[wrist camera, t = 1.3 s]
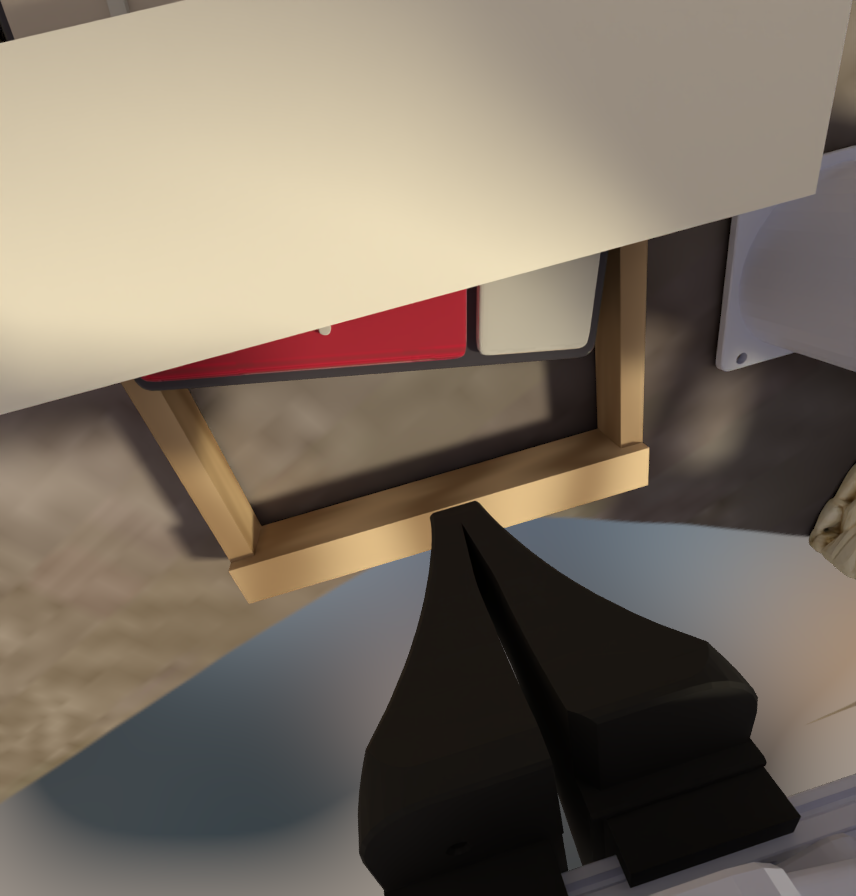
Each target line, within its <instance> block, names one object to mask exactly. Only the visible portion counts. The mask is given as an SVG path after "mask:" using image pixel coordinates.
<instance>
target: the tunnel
mask: <svg viewBox="0 0 856 896" xmlns="http://www.w3.org/2000/svg"><path fill="white" fill-rule="evenodd" d="M851 5H852V0H183V1H179V2H175V3H170V4H166V5H162V6H157V7H153V8H149V9H145V10H140V11H136V12H132V13H127V14H123V15H119V16H115V17H110V18H106V19H102V20H97V21H93V22H89V23H85V24H80V25H76V26H72V27H68V28H63V29H59V30H55V31H50V32H46V33H42V34H38V35H33V36H29V37H25V38H20V39H16V40H12V41H8V42H3V43H0V415H2V414H6V413H9V412H13V411H17V410H20V409H24V408H28V407H31V406H35V405H39V404H42V403H46V402H50V401H54V400H57V399H61V398H65V397H68V396H72V395H76V394H79V393H83V392H87V391H90V390H94V389H98V388H102V387H105V386H109V385H113V384H116V383H120V382H124V381H127V380H131V379H135V378H138V377H142V376H146V375H149V374H153V373H157V372H161V371H164V370H168V369H172V368H175V367H179V366H183V365H186V364H190V363H194V362H197V361H201V360H205V359H209V358H212V357H216V356H220V355H223V354H227V353H231V352H234V351H238V350H242V349H245V348H249V347H253V346H256V345H260V344H264V343H268V342H271V341H275V340H279V339H282V338H286V337H290V336H293V335H297V334H301V333H304V332H308V331H312V330H316V329H319V328H323V327H327V326H330V325H334V324H338V323H341V322H345V321H349V320H352V319H356V318H360V317H363V316H367V315H371V314H375V313H378V312H382V311H386V310H389V309H393V308H397V307H400V306H404V305H408V304H411V303H415V302H419V301H423V300H426V299H430V298H434V297H437V296H441V295H445V294H448V293H452V292H456V291H459V290H463V289H467V288H470V287H474V286H478V285H482V284H485V283H489V282H493V281H496V280H500V279H504V278H507V277H511V276H515V275H518V274H522V273H526V272H530V271H533V270H537V269H541V268H544V267H548V266H552V265H555V264H559V263H563V262H566V261H570V260H574V259H577V258H581V257H585V256H589V255H592V254H596V253H600V252H603V251H607V250H611V249H614V248H618V247H622V246H625V245H629V244H633V243H637V242H640V241H644V240H648V239H651V238H655V237H659V236H662V235H666V234H670V233H673V232H677V231H681V230H684V229H688V228H692V227H696V226H699V225H703V224H707V223H710V222H714V221H718V220H721V219H725V218H729V217H732V216H736V215H740V214H744V213H747V212H751V211H755V210H758V209H762V208H766V207H769V206H773V205H777V204H780V203H784V202H788V201H791V200H795V199H799V198H803V197H806V196H810V195H814V194H815V193H816V188H817V183H818V177H819V172H820V167H821V162H822V157H823V151H824V146H825V141H826V136H827V131H828V125H829V120H830V115H831V110H832V104H833V99H834V94H835V89H836V84H837V78H838V73H839V68H840V63H841V58H842V52H843V47H844V42H845V37H846V31H847V26H848V21H849V16H850V11H851Z"/></svg>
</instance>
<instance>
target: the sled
mask: <svg viewBox="0 0 856 896" xmlns="http://www.w3.org/2000/svg"><path fill="white" fill-rule="evenodd" d="M0 43H2V41H1V39H0ZM647 250H648V240H644V241H640V242H637V243H633V244H629V245H625V246H622V247H618V248H614V249H611V250H609V251H608V258H607V265H606V272H605V279H604V286H603V293H602V300H601V307H600V314H599V321H598V328H597V335H596V341H595V357H596V389H597V420H598V429H595V430H591V431H588V432H585V433H581V434H578V435H574V436H571V437H567V438H564V439H560V440H557V441H553V442H550V443H547V444H543V445H540V446H536V447H533V448H529V449H526V450H522V451H519V452H516V453H512V454H509V455H505V456H502V457H498V458H495V459H491V460H488V461H485V462H481V463H478V464H474V465H471V466H467V467H464V468H460V469H457V470H453V471H450V472H447V473H443V474H440V475H436V476H433V477H429V478H426V479H422V480H419V481H416V482H412V483H409V484H405V485H402V486H398V487H395V488H391V489H388V490H385V491H381V492H378V493H374V494H371V495H367V496H364V497H360V498H357V499H353V500H350V501H347V502H343V503H340V504H336V505H333V506H329V507H326V508H322V509H319V510H316V511H312V512H309V513H305V514H302V515H298V516H295V517H291V518H288V519H284V520H281V521H278V522H274V523H271V524H267V525H264V526H261V525H260V523H259V521H258V519H257V517H256V515H255V513H254V511H253V510H252V508H251V506H250V504H249V502H248V500H247V498H246V497H245V495H244V493H243V491H242V489H241V487H240V485H239V483H238V482H237V480H236V478H235V476H234V474H233V472H232V470H231V468H230V467H229V465H228V463H227V461H226V459H225V457H224V455H223V454H222V452H221V450H220V448H219V446H218V444H217V442H216V440H215V439H214V437H213V435H212V433H211V431H210V429H209V427H208V426H207V424H206V422H205V420H204V418H203V416H202V414H201V412H200V411H199V409H198V407H197V405H196V403H195V401H194V399H193V398H192V396H191V394H190V392H189V390H188V388H187V389H175V390H162V391H149V390H145V389H143V388H141V387H140V386H139V385H138V384H137V383H136V382H135V380H134V379H131V380H127V381H124V382H121V384H122V386H123V387H124V389H125V391H126V392H127V394H128V395H129V397H130V399H131V400H132V402H133V404H134V405H135V407H136V409H137V410H138V412H139V413H140V415H141V417H142V418H143V420H144V422H145V423H146V425H147V426H148V428H149V430H150V431H151V433H152V435H153V436H154V438H155V439H156V441H157V443H158V444H159V446H160V448H161V449H162V451H163V453H164V454H165V456H166V457H167V459H168V461H169V462H170V464H171V466H172V467H173V469H174V470H175V472H176V474H177V475H178V477H179V479H180V480H181V482H182V483H183V485H184V487H185V488H186V490H187V492H188V493H189V495H190V497H191V498H192V500H193V501H194V503H195V505H196V506H197V508H198V510H199V511H200V513H201V514H202V516H203V518H204V519H205V521H206V523H207V524H208V526H209V528H210V529H211V531H212V532H213V534H214V536H215V537H216V539H217V541H218V542H219V544H220V545H221V547H222V549H223V550H224V552H225V554H226V555H227V557H228V558H229V560H230V562H231V565H230V568H229V573H230V574H231V576H232V577H233V579H234V581H235V582H236V584H237V585H238V587H239V589H240V590H241V592H242V593H243V595H244V597H245V598H246V600H247V601H248V603H249V604H250V603H253V602H257V601H260V600H263V599H267V598H270V597H274V596H277V595H280V594H284V593H287V592H290V591H294V590H297V589H300V588H304V587H307V586H311V585H314V584H317V583H321V582H324V581H327V580H331V579H334V578H337V577H341V576H344V575H347V574H351V573H354V572H358V571H361V570H364V569H368V568H371V567H374V566H378V565H381V564H384V563H388V562H391V561H394V560H398V559H401V558H405V557H408V556H411V555H415V554H418V553H421V552H425V551H428V550H431V542H432V532H431V522H430V516H431V515H432V513H434V512H438V511H441V510H445V509H448V508H451V507H455V506H458V505H462V504H465V503H468V502H472V501H477V502H479V503H480V504H481V505H482V506H483V507H484V509H485V510H486V511H487V512H488V513H489V514H490V515H491V516H492V517H493V518H494V519H495V520H496V521H497V522H498V523H499V524H500V525H501V526H502V527H503V528H505V527H509V526H512V525H515V524H519V523H522V522H525V521H529V520H532V519H536V518H539V517H542V516H546V515H549V514H552V513H556V512H559V511H562V510H566V509H569V508H573V507H576V506H579V505H583V504H586V503H589V502H593V501H596V500H599V499H603V498H606V497H610V496H613V495H616V494H620V493H623V492H626V491H630V490H633V489H636V488H640V487H643V486H646V485H648V470H649V447H648V446H646V445H645V444H644V443H643V442H642V439H643V401H644V364H645V326H646V288H647Z"/></svg>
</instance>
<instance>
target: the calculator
mask: <svg viewBox="0 0 856 896" xmlns="http://www.w3.org/2000/svg"><path fill="white" fill-rule="evenodd" d="M179 1H183V0H0V24H1V27H2V30H3V32H4V35H5V38H6V40H7V42H8V41H12V40H16V39H20V38H25V37H29V36H33V35H38V34H42V33H46V32H50V31H55V30H59V29H63V28H68V27H72V26H76V25H80V24H85V23H89V22H93V21H97V20H102V19H106V18H110V17H115V16H119V15H123V14H127V13H132V12H136V11H140V10H145V9H149V8H153V7H157V6H162V5H166V4H170V3H175V2H179ZM608 251H609V250H607V251H603V252H600V253H596V254H592V255H589V256H585V257H581V258H577V259H574V260H570V261H566V262H563V263H559V264H555V265H552V266H548V267H544V268H541V269H537V270H533V271H530V272H526V273H522V274H518V275H515V276H511V277H507V278H504V279H500V280H496V281H493V282H489V283H485V284H482V285H478V286H474V287H470V288H467V289H463V290H459V291H456V292H452V293H448V294H445V295H441V296H437V297H434V298H430V299H426V300H423V301H419V302H415V303H411V304H408V305H404V306H400V307H397V308H393V309H389V310H386V311H382V312H378V313H375V314H371V315H367V316H363V317H360V318H356V319H352V320H349V321H345V322H341V323H338V324H334V325H330V326H327V327H323V328H319V329H316V330H312V331H308V332H304V333H301V334H297V335H293V336H290V337H286V338H282V339H279V340H275V341H271V342H268V343H264V344H260V345H256V346H253V347H249V348H245V349H242V350H238V351H234V352H231V353H227V354H223V355H220V356H216V357H212V358H209V359H205V360H201V361H197V362H194V363H190V364H186V365H183V366H179V367H175V368H172V369H168V370H164V371H161V372H157V373H153V374H149V375H146V376H142V377H138V378H135V379H134V380H135V382H136V383H137V384H138V385H139V386H140V387H141V388H143V389H145V390H149V391H162V390H175V389H187V388H200V387H213V386H225V385H238V384H251V383H264V382H276V381H289V380H302V379H314V378H327V377H340V376H353V375H365V374H378V373H391V372H403V371H416V370H429V369H441V368H454V367H467V366H480V365H492V364H505V363H518V362H530V361H543V360H556V359H569V358H579V357H584V356H586V355H588V354H589V353H590V352H591V351H592V350H593V348H594V345H595V341H596V335H597V328H598V321H599V314H600V307H601V300H602V293H603V286H604V279H605V272H606V265H607V258H608Z"/></svg>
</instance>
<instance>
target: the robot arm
mask: <svg viewBox="0 0 856 896" xmlns="http://www.w3.org/2000/svg"><path fill="white" fill-rule="evenodd" d="M795 352H796V353H799V354H802V355H805V356H808V357H811V358H814V359H817V360H821V361H824V362H827V363H830V364H833V365H836V366H839V367H842V368H845V369H848V370H851V371H854V372H856V145H854V146H850V147H846V148H843V149H839V150H835V151H831V152H828V153H824V154H823V157H822V162H821V167H820V172H819V177H818V183H817V188H816V193H815V194H814V195H810V196H806V197H803V198H799V199H795V200H791V201H788V202H784V203H780V204H777V205H773V206H769V207H766V208H762V209H758V210H755V211H751V212H747V213H744V214H740V215H736V216H732V221H731V230H730V239H729V248H728V256H727V265H726V274H725V283H724V292H723V301H722V310H721V319H720V328H719V337H718V346H717V355H716V366H717V368H718V369H721V370H723V371H725V372H727V371H732V370H735V369H739V368H742V367H746V366H749V365H753V364H756V363H760V362H763V361H767V360H770V359H774V358H777V357H781V356H784V355H788V354H791V353H795ZM739 355H740V357H739V358H738V359H737V357H738V356H739ZM736 359H737V360H736ZM430 522H431V532H432V542H431V558H430V568H429V575H428V581H427V587H426V592H425V598H424V602H423V607H422V611H421V615H420V619H419V623H418V626H417V630H416V633H415V636H414V639H413V642H412V646H411V649H410V652H409V655H408V658H407V660H406V663H405V666H404V669H403V671H402V673H401V676H400V678H399V680H398V683H397V686H396V688H395V690H394V692H393V695H392V697H391V700H390V702H389V704H388V706H387V708H386V711H385V713H384V715H383V716H382V718H381V720H380V722H379V724H378V726H377V729H376V730H375V732H374V734H373V736H372V738H371V740H370V742H369V744H368V746H367V748H366V751H365V757H364V762H363V768H362V775H361V782H360V790H359V803H358V804H359V805H358V832H359V854H360V856H361V859H362V861H363V863H364V865H365V866H366V867H367V868H368V870H369V871H370V873H371V874H372V875H373V876H374V878H375V879H376V880H377V882H378V883H379V884H380V885H381V887H382V888H383V889H384V896H856V774H853V775H850V776H847V777H844V778H841V779H838V780H836V781H833V782H830V783H827V784H824V785H821V786H818V787H815V788H812V789H809V790H806V791H803V792H800V793H797V794H794V795H791V796H788V797H786V796H785V794H784V793H783V792H782V790H781V789H780V788H779V787H778V785H777V784H776V783H775V781H774V780H773V779H772V777H771V776H770V775H769V773H768V772H767V771H766V769H765V768H764V767H763V766H765V765H766V760H765V758H764V756H763V754H762V753H761V752H760V750H759V749H758V748H757V747H756V745H755V744H754V743H753V742H752V740H751V739H750V735H751V732H752V728H753V724H754V721H755V717H756V713H757V701H758V700H757V699H758V697H757V695H756V693H755V691H754V689H753V688H752V687H751V686H750V685H749V683H748V682H747V681H746V680H745V679H744V678H743V676H742V675H741V674H740V673H739V672H738V671H737V670H736V669H735V668H734V667H733V666H732V665H731V664H730V663H729V662H728V661H727V660H726V659H725V658H724V657H723V656H722V655H721V654H720V653H719V652H717V650H715V648H713V647H712V646H711V645H710V644H709V643H708V642H707V641H704V640H701V639H699V638H696V637H693V636H691V635H688V634H685V633H682V632H679V631H677V630H674V629H671V628H668V627H666V626H663V625H660V624H658V623H656V622H653V621H651V620H649V619H646V618H644V617H642V616H639V615H637V614H635V613H633V612H631V611H629V610H626V609H625V608H623V607H621V606H619V605H617V604H615V603H613V602H611V601H609V600H607V599H605V598H603V597H601V596H599V595H597V594H595V593H593V592H592V591H590V590H588V589H586V588H585V587H583V586H581V585H580V584H578V583H576V582H574V581H573V580H571V579H570V578H568V577H567V576H565V575H564V574H562V573H560V572H559V571H557V570H556V569H555V568H553V567H551V566H550V565H549V564H547V563H546V562H545V561H543V560H542V559H541V558H539V557H538V556H537V555H535V554H534V553H532V552H531V551H530V550H529V549H528V548H526V547H525V546H524V545H523V544H521V543H520V542H519V541H518V540H517V539H516V538H514V537H513V536H512V535H511V534H510V533H509V532H507V531H506V530H505V529H504V528H503V527H502V526H501V525H500V524H499V523H498V522H497V521H496V520H495V519H494V518H493V517H492V516H491V515H490V514H489V513H488V512H487V511H486V510H485V509H484V507H483V506H482V505H481V504H480V503H479V502H477V501H472V502H468V503H465V504H462V505H458V506H455V507H451V508H448V509H445V510H441V511H438V512H434V513H432V515H431V516H430ZM498 637H499V638H498ZM501 644H502V645H501ZM502 646H503V647H502ZM503 648H504V649H503ZM504 650H505V652H506V654H505V652H504ZM506 655H507V656H506ZM507 657H508V659H509V661H510V663H511V665H512V668H513V670H514V672H513V670H512V668H511V665H510V663H509V661H508V659H507ZM514 673H515V675H516V677H515V675H514ZM516 678H517V679H516ZM517 680H518V681H517ZM519 685H520V686H519ZM557 793H558V794H557ZM558 796H559V799H560V801H561V804H562V807H563V810H564V813H565V816H566V819H567V822H568V825H569V828H570V831H571V834H572V836H573V839H574V842H575V845H576V848H577V851H578V854H579V857H580V860H581V863H582V866H581V867H578V868H575V869H572V870H569V871H568V867H567V861H566V855H565V849H564V843H563V837H562V834H563V833H564V832H563V826H562V819H561V813H560V807H559V800H558Z"/></svg>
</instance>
